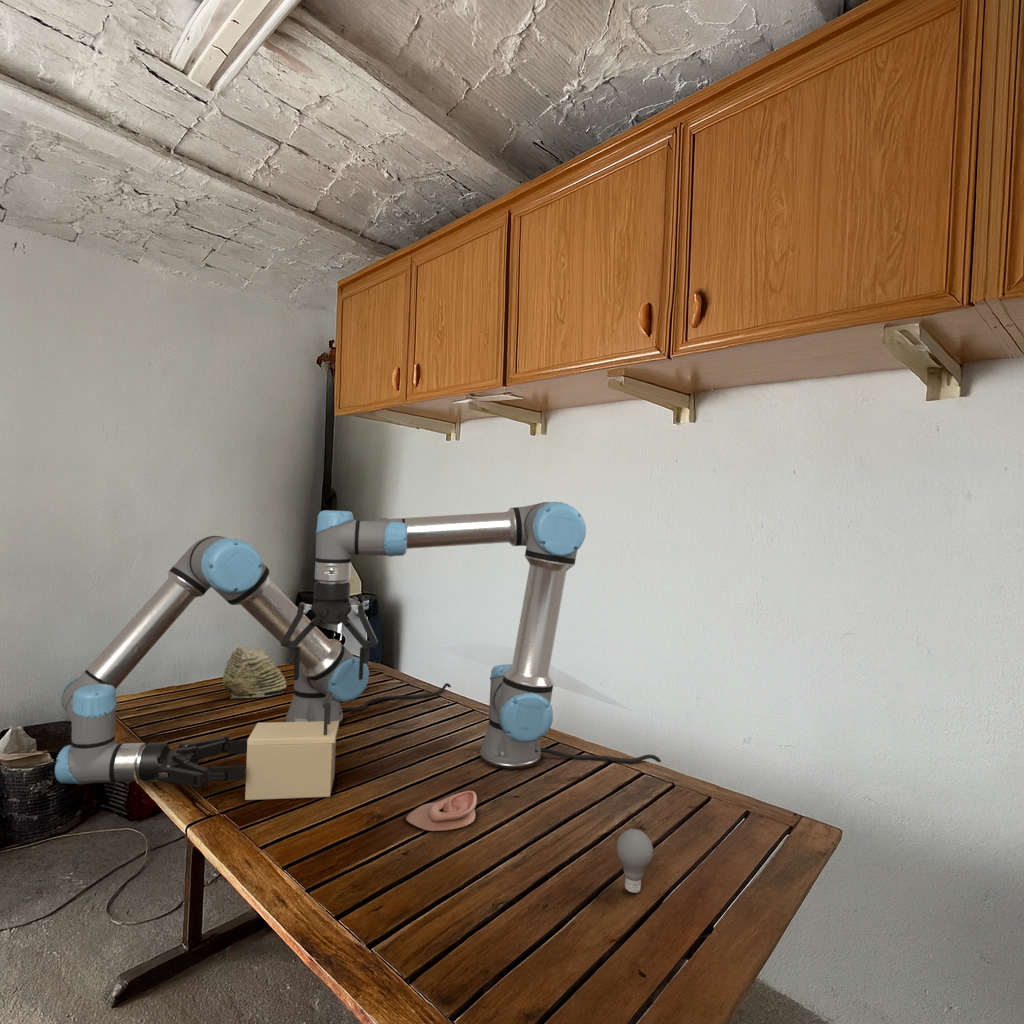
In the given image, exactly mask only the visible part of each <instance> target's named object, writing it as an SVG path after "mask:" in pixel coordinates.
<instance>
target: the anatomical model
mask: <svg viewBox="0 0 1024 1024" xmlns="http://www.w3.org/2000/svg"><path fill="white" fill-rule="evenodd" d="M477 803H478V798H477V793H476V792H475V791H473V790H465V791H461V792H458V793H455V794H452V795H450V796H447V797H445V798H443V799H441V800H438V801H436V802H429V803H425V804H422V805H420V806H418V807H416V808H415V809H413V810H412V811H410V813H408V814H407V816H406V817H405V821H406V822H408V823H409V824H410V825H412V826H414V827H416V828H418V829H422V830H425V831H428V832H429V831H430V832H440V831H450V830H456V829H459V828H463V827H466V826H468V825H470V824H472V823H473V822H474V821H475V819H476V810H475V809H476V806H477Z"/></svg>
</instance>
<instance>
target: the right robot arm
mask: <svg viewBox="0 0 1024 1024" xmlns="http://www.w3.org/2000/svg"><path fill="white" fill-rule="evenodd" d="M316 521H317V524H316V530H315V560H314V561H315V564H314V580H316V581H315V583H314V586H313V588H314V589H313V602H312V603H306V602H304V601H301V602H300V603H299V604H298V606H297V608H298V611H297V615H296V617H295V618H294V620H293V622H292V624H291V626H290V627H289V629H288V631H287V633H286V634H285V636H284V638H283V640H282V642H281V643H280V646H281V647H283V648H285V647H287V648H289V651H288V654H289V655H288V656H289V657H288V662H289V665H293V681H294V680H298V678H299V665H300V647H296V646H297V645H298V644H299V643H300V642H301V641H302V640H303V639H304V638H305V637H306V636H307V634H308V633H309V632H310V631H311V630H312V629H313V628H314V627H315V626H316V627H317V626H318V624H319V623H320V624H322V625H324V626H325V625H326V626H327V625H334V626H338V625H340V624H342V625H343V627H345V628H346V629H347V630H348V631H349V633H350V634H351V635H352V637H354V639H355V640H356V641H357V642H358V643H359V644H360V648H359V658H360V661H359V680H362V678H363V664H366V665H367V664H368V663H369V662H370V661H369V660H370V649H371V648H374V647H375V648H376V647H377V646H378V643H379V640H378V638H377V636H376V634H375V632H374V629H373V628H372V625H371V623H370V621H369V619H368V616H367V615H366V613H365V604H364V603H363V602H359V603H358V604H351V600H350V599H351V583H350V582H349V581H350V580H351V577H352V555H355V556H359V555H363V556H384V557H389V558H390V557H391V558H392V557H402V556H405V555H406V553H407V551H408V550H411V549H425V548H428V549H429V548H442V547H445V548H446V547H458V546H459V547H461V546H475V545H491V544H507V543H508V544H510V546H512V547H525V551H524V552H525V553H524V557H525V559H526V560H527V562H528V564H529V567H528V572H527V573H528V574H527V578H526V584H525V590H524V595H523V602H522V608H521V612H520V613H521V614H520V618H519V623H518V631H517V635H516V641H515V647H514V651H513V658H512V663H511V664H510V663H509V664H508V663H506V664H504V663H503V664H498V665H494V666H493V667H492V668H491V670H490V677H489V680H490V685H489V686H490V687H489V688H490V689H489V708H488V711H489V712H488V725H487V729H486V732H485V734H484V737H483V740H482V742H481V745H480V751H479V757H480V759H481V761H482V762H484V763H485V764H487V765H488V766H491V767H494V768H498V769H503V770H524V769H529V768H532V767H534V766H537V765H538V764H539V763H540V762H541V760H542V753H544V754H549V755H554V756H559V757H563V758H567V759H574V760H576V759H577V760H603V761H611V762H618V763H631V764H632V763H638V762H642V761H644V760H649V759H652V760H654V761H656V762H657V763H662V760H661V759H660V757H658V756H656V755H655V754H650V753H649V754H644V755H640V756H638V757H633V758H625V757H616V756H610V755H599V754H598V755H597V754H574V753H573V754H571V753H566V752H562V751H559V750H554V749H549V748H544V747H541V745H540V741H539V740H540V739H542V738H543V737H544V736H545V735H547V733H548V732H549V731H550V729H551V728H552V725H553V721H554V711H553V706H552V705H551V701H552V696H553V689H554V684H555V682H554V680H553V678H552V677H551V675H550V669H551V663H552V656H553V652H554V645H555V639H556V635H557V629H558V623H559V618H560V612H561V606H562V600H563V595H564V589H565V583H566V577H567V573H568V571H569V570H570V569H572V568H573V567H575V564H576V559H577V553H578V550H579V549H580V548H581V547H582V545H583V543H584V541H585V539H586V533H587V527H586V522H585V519H584V517H583V515H582V514H581V513H580V512H579V511H578V510H577V509H576V508H575V507H573V506H571V505H570V504H568V503H565V502H562V501H543V502H539V503H534V504H531V505H523V506H517V507H515V506H514V507H510V508H509V509H507V511H501V512H500V511H499V512H484V513H483V512H482V513H465V514H450V515H433V516H415V517H404V518H403V517H402V518H401V517H400V518H378V519H376V520H357V519H355V518H354V514H353V512H352V511H349V510H333V509H332V510H331V509H329V510H326V509H324V510H321V511H319V513H318V515H317V520H316ZM309 611H311V612H312V613H313V615H314V618H312V620H310V621H311V622H310V623H309V624H308V626H307V627H306V628H305V629H304V630H303V631H302V632H301V633H300V634H299V635H298V636H297V637H296V638H295V640H294V641H290V638H291V636H292V634H293V633H294V631H295V629H296V627H297V626H298V624H299V622H300V620H301V618H302V617H303V615H307V613H308V612H309ZM351 611H353V612H354V614H355V615H358V619H359V621H360V622H361V624H362V627H363V629H364V631H365V633H366V636H367V637H368V639H369V640H367V639H366V637H365V636H364V635H363V633H362V632H361V631H360V630H359V628H357V626H356V625H355V624H354V622H353V621H352V620H351V618H350V617H349V616H348V615H349V614H350V613H351ZM284 646H285V647H284Z"/></svg>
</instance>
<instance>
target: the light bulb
mask: <svg viewBox="0 0 1024 1024" xmlns="http://www.w3.org/2000/svg"><path fill="white" fill-rule="evenodd" d="M615 849H616V854H617V857H618V859H619V861H620V863H621V865H622V867H623V873H624V874H623V875H624V876H625V878H624V888H625V890H627V891H628V892H630V893H634V894H635V893H639V892H640V891H641V889H642V887H641V886H642V879H643V877H644V875H645V871H646V868H647V867H648V866H649V864H650V863H651V861H652V859H653V855H654V847H653V843H652V841H651V838H649V836H648V835H647V834H646V833H645V832H643V831H642V830H641V829H636V828H629V829H627V830H625V831H623V832H622V833H621V834H620V835H619V837H618V839H617V841H616V847H615Z"/></svg>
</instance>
